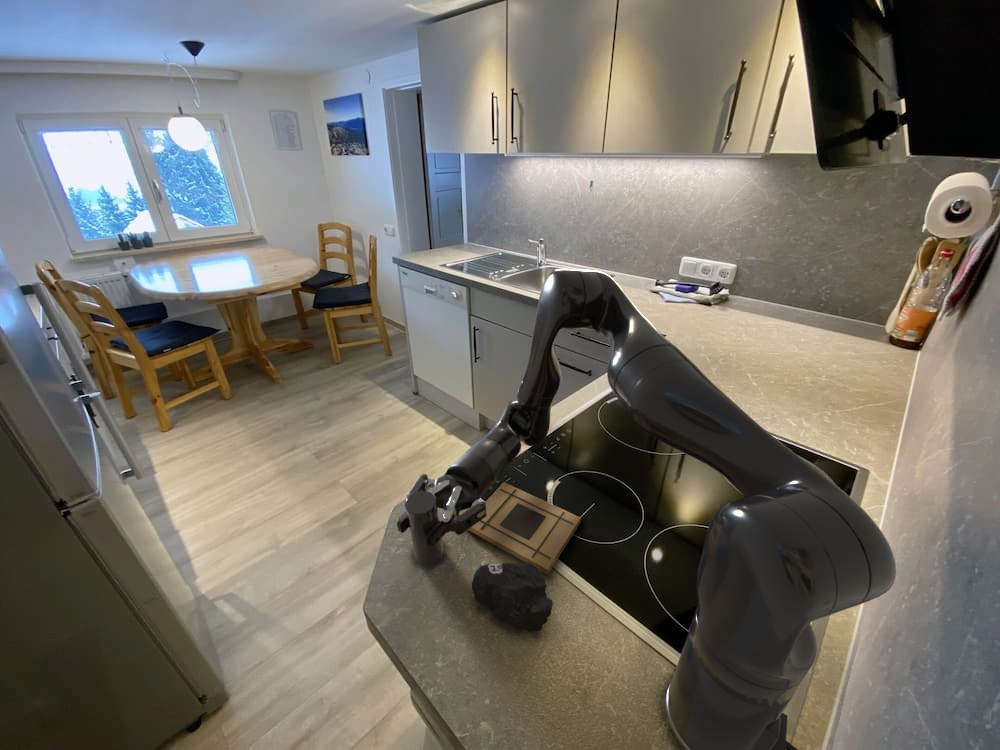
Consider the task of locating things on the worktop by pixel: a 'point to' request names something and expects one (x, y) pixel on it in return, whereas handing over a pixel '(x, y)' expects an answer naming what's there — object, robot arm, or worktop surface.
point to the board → (526, 526)
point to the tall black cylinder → (423, 525)
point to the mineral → (513, 594)
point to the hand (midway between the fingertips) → (412, 535)
